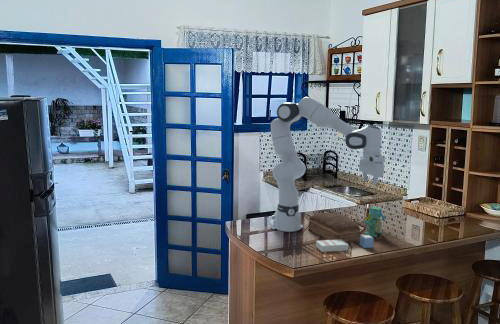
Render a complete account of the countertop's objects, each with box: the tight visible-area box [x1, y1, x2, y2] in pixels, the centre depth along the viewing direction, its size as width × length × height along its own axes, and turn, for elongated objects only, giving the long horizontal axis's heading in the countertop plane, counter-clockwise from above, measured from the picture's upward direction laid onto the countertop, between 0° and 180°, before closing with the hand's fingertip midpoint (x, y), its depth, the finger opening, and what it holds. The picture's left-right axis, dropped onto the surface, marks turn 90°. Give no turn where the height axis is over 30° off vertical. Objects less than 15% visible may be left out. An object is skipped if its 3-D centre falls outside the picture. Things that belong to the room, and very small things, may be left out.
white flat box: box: [315, 239, 349, 253], centre depth 225 cm, size 8×14×3 cm, turn 103°
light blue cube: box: [359, 234, 375, 249], centre depth 229 cm, size 5×5×5 cm
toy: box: [363, 206, 386, 238], centre depth 249 cm, size 10×10×15 cm
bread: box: [307, 212, 362, 243], centre depth 247 cm, size 17×29×11 cm, turn 24°
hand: (369, 182), depth 236 cm, fingers open, 8 cm apart
